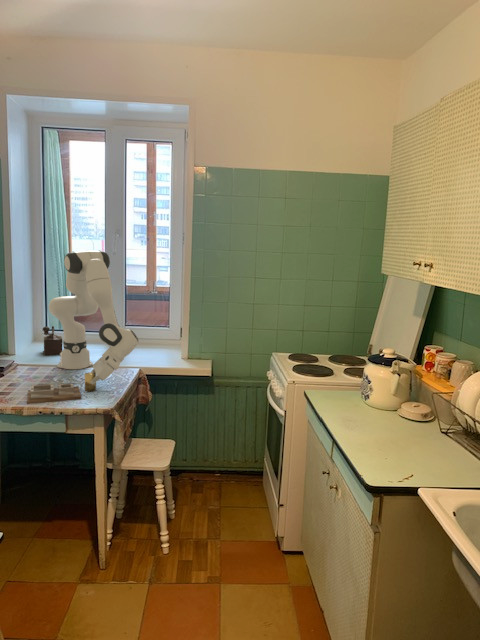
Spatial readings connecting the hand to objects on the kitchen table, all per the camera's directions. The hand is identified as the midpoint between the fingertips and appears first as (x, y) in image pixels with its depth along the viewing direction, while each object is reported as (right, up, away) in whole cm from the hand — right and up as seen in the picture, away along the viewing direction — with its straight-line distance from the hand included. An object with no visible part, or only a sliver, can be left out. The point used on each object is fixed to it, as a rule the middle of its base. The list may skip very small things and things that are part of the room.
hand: (90, 380), depth 227 cm
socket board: (-13, -6, -9) cm, 17 cm away
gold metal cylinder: (0, -5, +1) cm, 5 cm away
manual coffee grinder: (-42, +8, +64) cm, 77 cm away
